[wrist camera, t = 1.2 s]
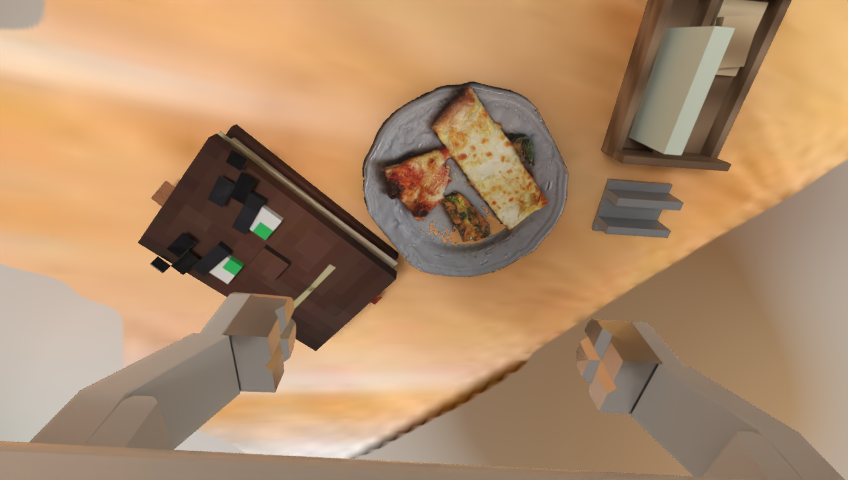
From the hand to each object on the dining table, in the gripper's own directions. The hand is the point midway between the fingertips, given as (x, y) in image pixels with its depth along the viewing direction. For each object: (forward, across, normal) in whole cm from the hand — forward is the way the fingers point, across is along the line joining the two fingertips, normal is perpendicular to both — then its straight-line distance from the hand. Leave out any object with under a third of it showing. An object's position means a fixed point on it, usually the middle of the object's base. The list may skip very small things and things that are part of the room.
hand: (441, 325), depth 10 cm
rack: (+36, -27, -6) cm, 46 cm away
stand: (+36, -28, +9) cm, 47 cm away
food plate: (+37, -6, +9) cm, 38 cm away
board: (+35, -24, -5) cm, 43 cm away
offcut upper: (+34, -29, -10) cm, 46 cm away
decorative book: (+37, +17, +18) cm, 45 cm away
